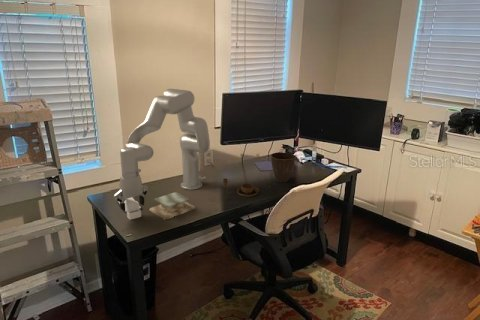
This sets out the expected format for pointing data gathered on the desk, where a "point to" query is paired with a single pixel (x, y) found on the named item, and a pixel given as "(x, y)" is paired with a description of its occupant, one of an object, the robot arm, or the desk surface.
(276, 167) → the plant pot
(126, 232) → the desk surface
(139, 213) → the white wedge bracket
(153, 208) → the stand
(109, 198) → the desk surface
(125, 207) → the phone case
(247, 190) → the place setting
